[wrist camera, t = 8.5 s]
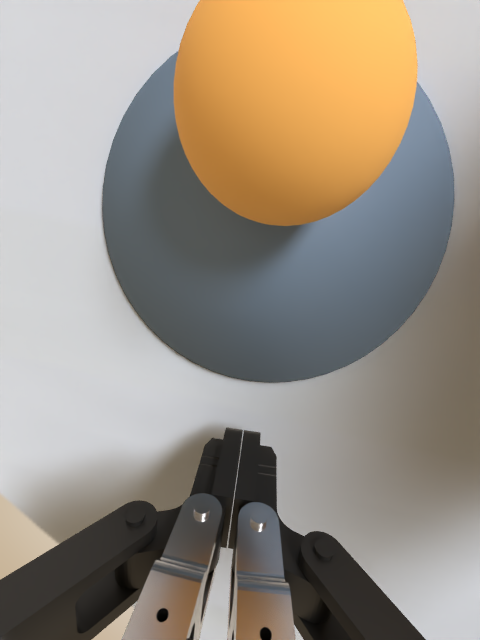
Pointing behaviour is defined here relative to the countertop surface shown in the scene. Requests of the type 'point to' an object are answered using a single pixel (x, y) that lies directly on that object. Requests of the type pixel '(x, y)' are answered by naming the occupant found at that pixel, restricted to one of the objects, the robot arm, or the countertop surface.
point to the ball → (293, 101)
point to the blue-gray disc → (271, 251)
